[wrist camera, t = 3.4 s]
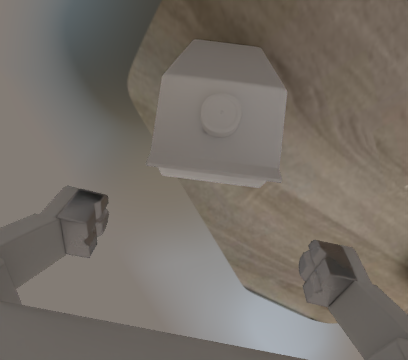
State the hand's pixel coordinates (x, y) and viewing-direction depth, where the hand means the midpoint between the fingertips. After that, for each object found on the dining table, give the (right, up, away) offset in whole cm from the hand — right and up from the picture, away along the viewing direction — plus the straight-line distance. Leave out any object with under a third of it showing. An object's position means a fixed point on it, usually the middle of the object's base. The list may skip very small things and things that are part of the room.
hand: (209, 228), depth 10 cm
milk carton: (+2, +13, +19) cm, 23 cm away
